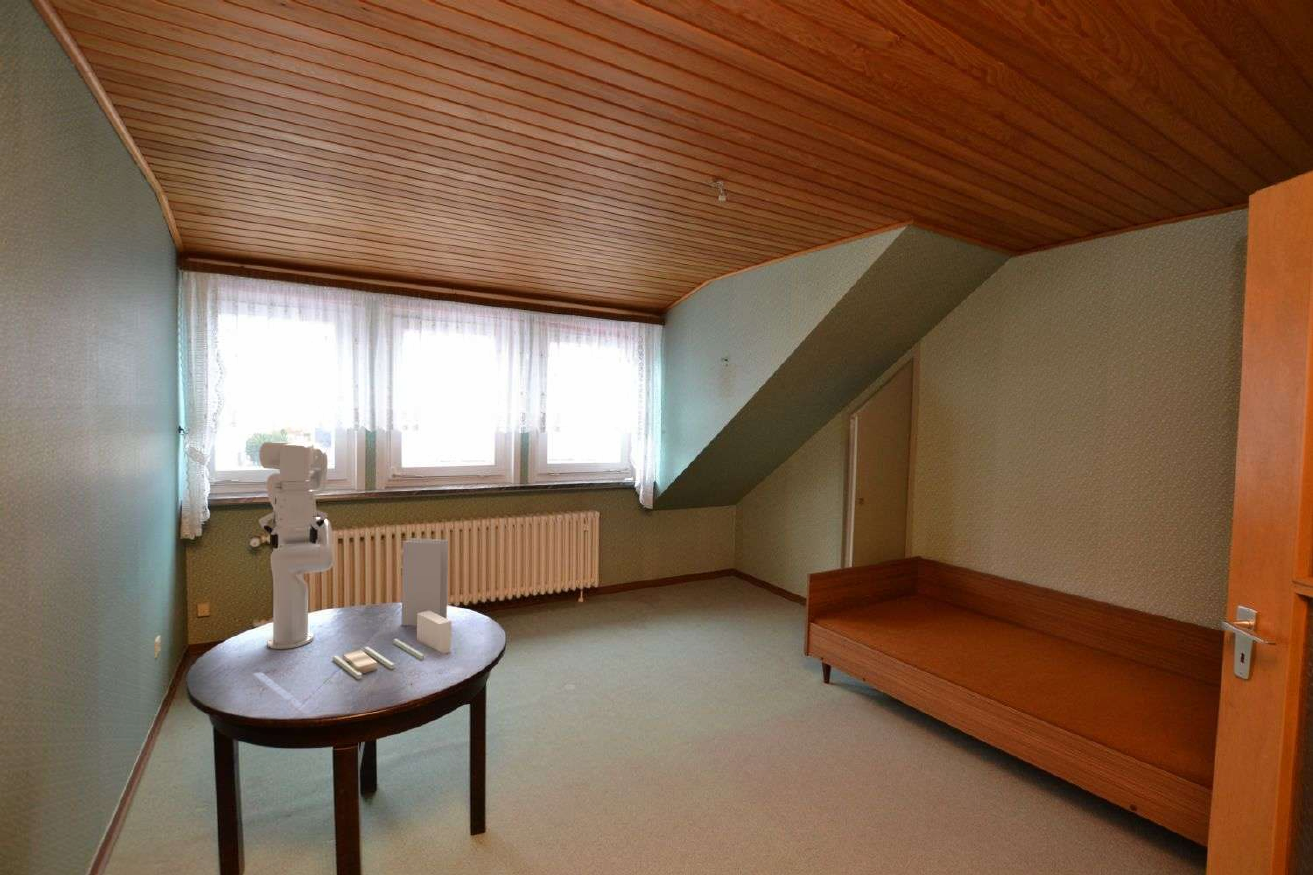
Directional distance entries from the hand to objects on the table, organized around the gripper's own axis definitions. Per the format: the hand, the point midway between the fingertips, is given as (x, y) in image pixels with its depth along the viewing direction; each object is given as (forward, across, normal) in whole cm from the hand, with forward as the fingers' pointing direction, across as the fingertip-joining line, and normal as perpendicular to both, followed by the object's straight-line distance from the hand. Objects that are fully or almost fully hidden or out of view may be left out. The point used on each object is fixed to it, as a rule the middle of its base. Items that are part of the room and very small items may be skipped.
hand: (294, 545), depth 164 cm
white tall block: (+36, +44, +8) cm, 58 cm away
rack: (+36, +18, -14) cm, 43 cm away
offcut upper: (+35, +13, -14) cm, 40 cm away
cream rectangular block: (+36, +36, -14) cm, 53 cm away
